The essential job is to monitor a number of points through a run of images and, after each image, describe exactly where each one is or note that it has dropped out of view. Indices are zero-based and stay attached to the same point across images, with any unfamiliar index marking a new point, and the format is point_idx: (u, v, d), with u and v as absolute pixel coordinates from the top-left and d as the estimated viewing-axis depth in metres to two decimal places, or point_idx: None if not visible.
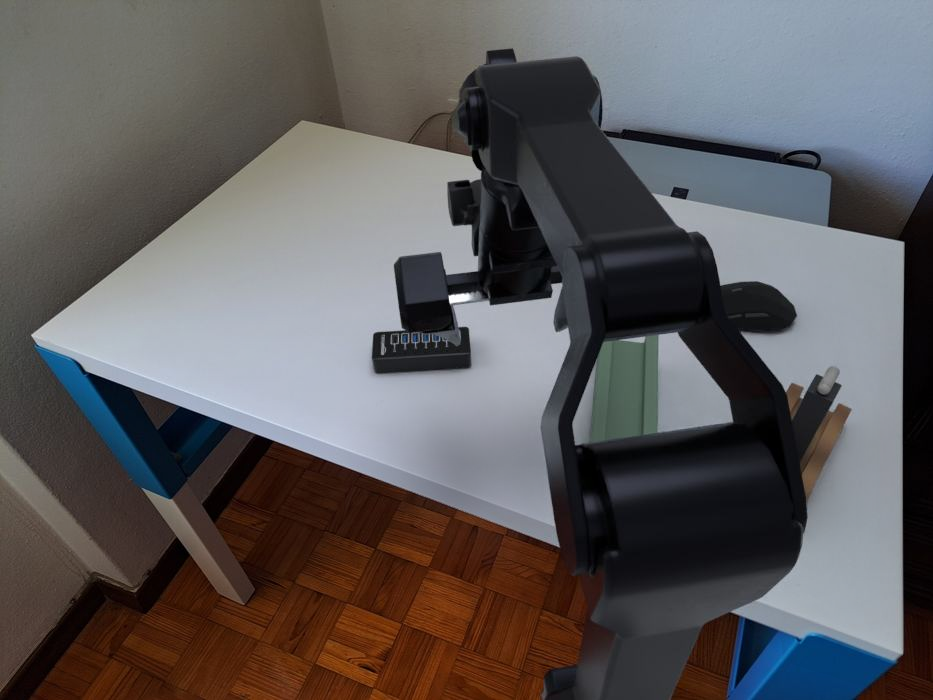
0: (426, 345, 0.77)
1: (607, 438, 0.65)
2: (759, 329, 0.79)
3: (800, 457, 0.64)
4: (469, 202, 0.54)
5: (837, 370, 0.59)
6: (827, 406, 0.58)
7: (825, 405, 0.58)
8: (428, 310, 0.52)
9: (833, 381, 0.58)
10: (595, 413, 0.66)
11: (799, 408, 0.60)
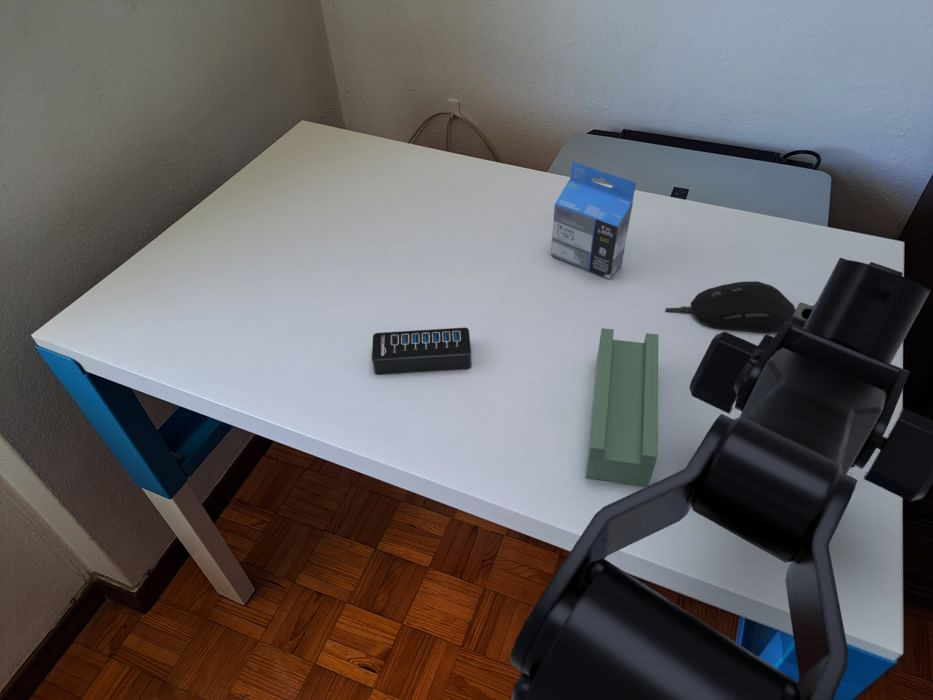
0: (426, 345, 0.76)
1: (607, 438, 0.65)
2: (759, 329, 0.79)
3: None
4: None
5: None
6: None
7: None
8: (711, 400, 0.58)
9: None
10: (595, 413, 0.66)
11: None
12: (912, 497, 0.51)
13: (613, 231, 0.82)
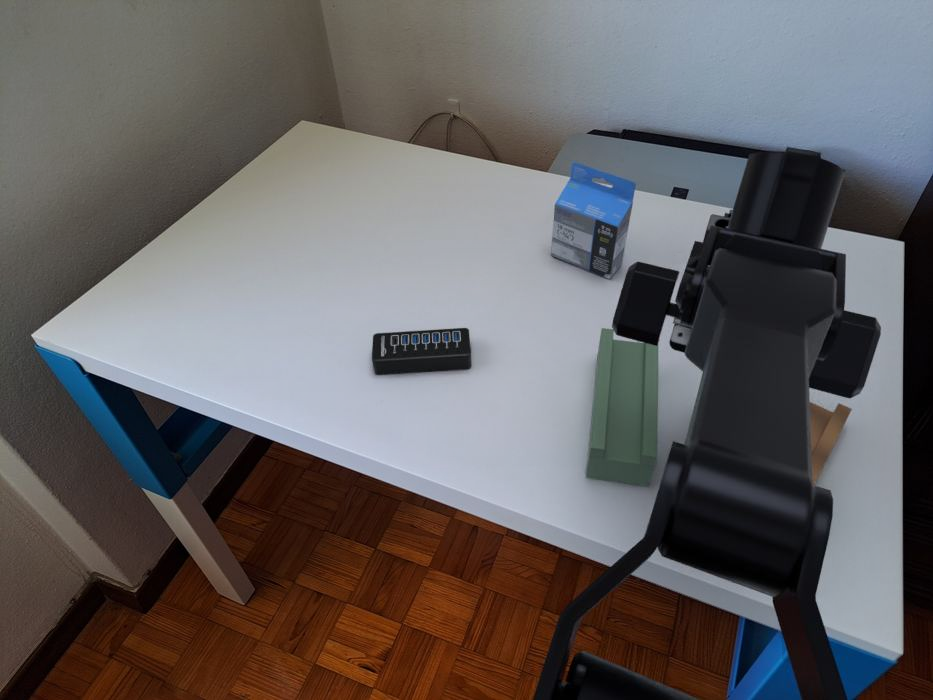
0: (426, 346, 0.76)
1: (607, 438, 0.65)
2: None
3: None
4: None
5: None
6: None
7: None
8: (637, 335, 0.55)
9: None
10: (595, 413, 0.66)
11: None
12: (851, 393, 0.50)
13: (613, 231, 0.82)
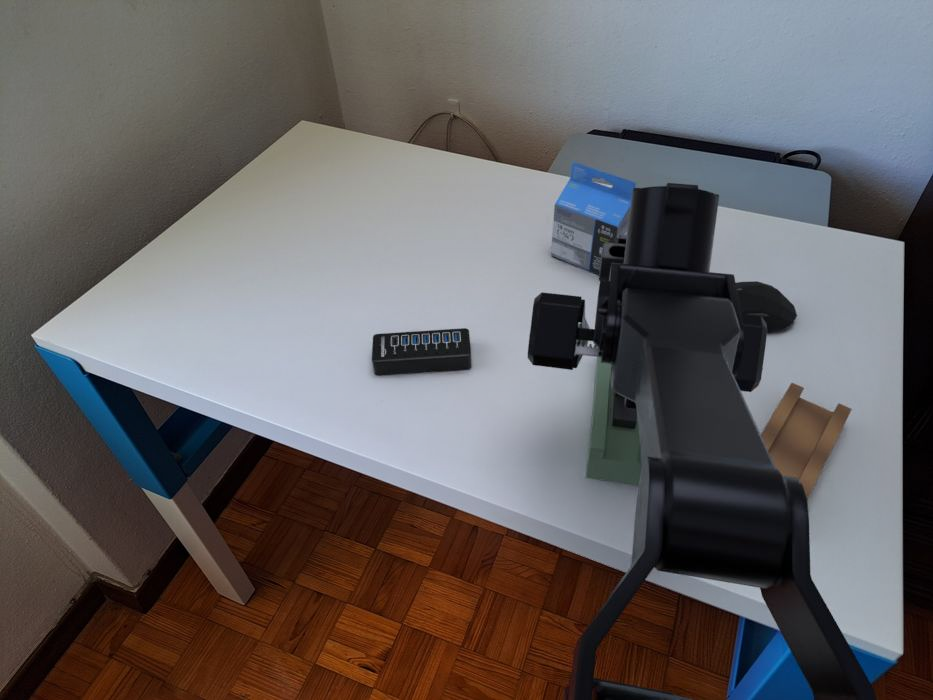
0: (426, 346, 0.76)
1: (607, 438, 0.65)
2: None
3: None
4: None
5: None
6: None
7: None
8: (553, 362, 0.57)
9: None
10: (595, 413, 0.66)
11: None
12: (751, 387, 0.54)
13: (613, 231, 0.82)
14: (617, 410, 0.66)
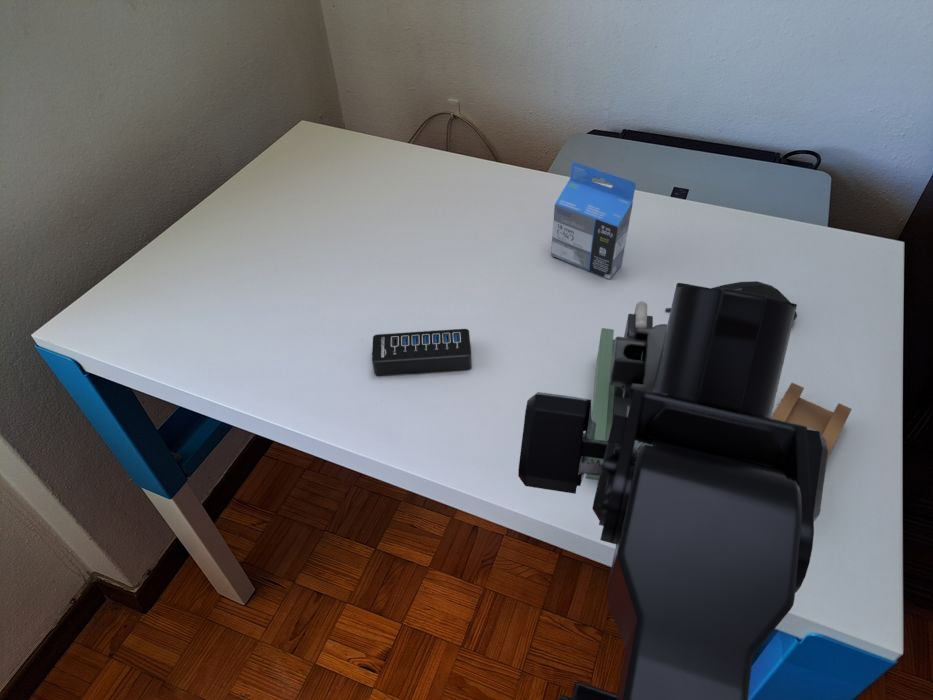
0: (426, 347, 0.76)
1: (607, 438, 0.65)
2: None
3: None
4: (636, 377, 0.41)
5: (645, 304, 0.62)
6: None
7: None
8: (550, 484, 0.45)
9: (646, 315, 0.61)
10: (595, 413, 0.66)
11: None
12: None
13: (613, 231, 0.82)
14: (617, 410, 0.66)
